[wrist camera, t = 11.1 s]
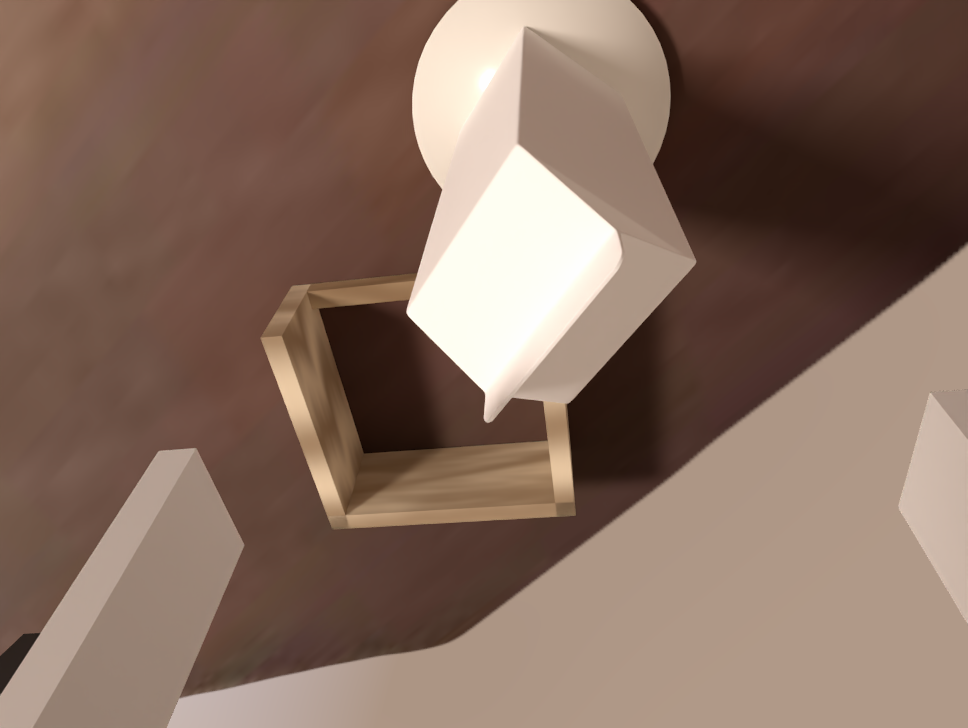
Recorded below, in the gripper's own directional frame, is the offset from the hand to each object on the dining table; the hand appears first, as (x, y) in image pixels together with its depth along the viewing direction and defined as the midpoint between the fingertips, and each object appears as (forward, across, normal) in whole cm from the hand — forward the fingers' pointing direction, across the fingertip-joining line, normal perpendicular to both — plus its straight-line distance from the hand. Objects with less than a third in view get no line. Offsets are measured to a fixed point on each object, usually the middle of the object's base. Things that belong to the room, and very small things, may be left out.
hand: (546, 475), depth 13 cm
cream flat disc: (+28, 0, 0) cm, 28 cm away
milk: (+27, 0, 0) cm, 27 cm away
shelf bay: (+27, -8, -16) cm, 33 cm away
